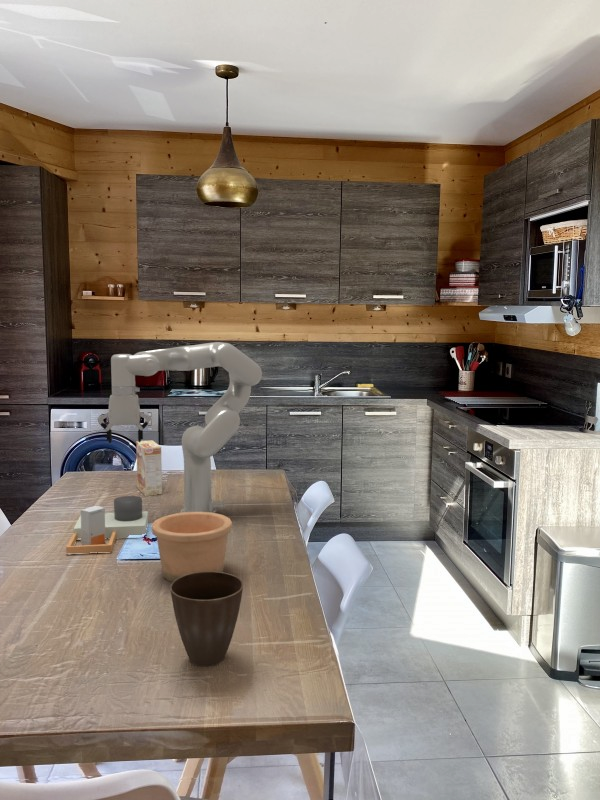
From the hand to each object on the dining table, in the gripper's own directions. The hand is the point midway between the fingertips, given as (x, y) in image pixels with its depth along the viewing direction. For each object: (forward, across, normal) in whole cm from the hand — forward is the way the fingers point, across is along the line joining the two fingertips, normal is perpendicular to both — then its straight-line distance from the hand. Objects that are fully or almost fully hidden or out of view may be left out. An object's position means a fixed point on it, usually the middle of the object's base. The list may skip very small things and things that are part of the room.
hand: (125, 441), depth 230 cm
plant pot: (+28, -25, +96) cm, 103 cm away
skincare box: (+28, +8, +22) cm, 37 cm away
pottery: (+29, -22, +48) cm, 60 cm away
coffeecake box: (+29, -5, -42) cm, 51 cm away
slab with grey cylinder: (+28, +4, +15) cm, 32 cm away
